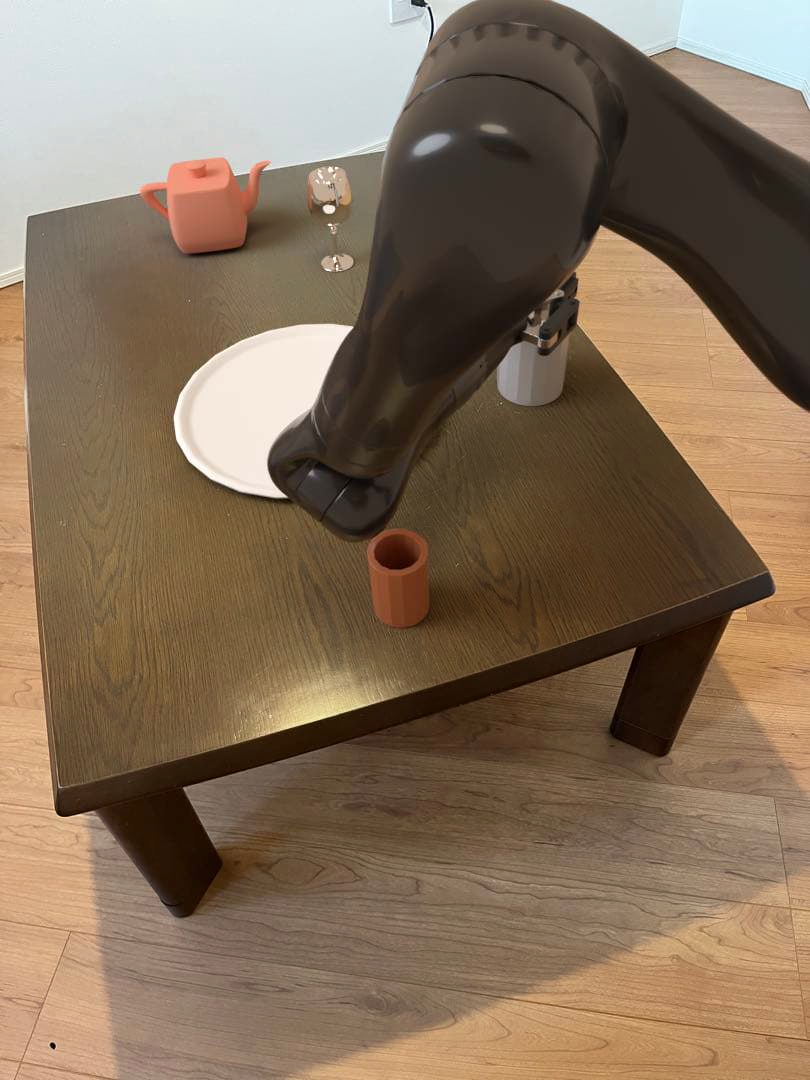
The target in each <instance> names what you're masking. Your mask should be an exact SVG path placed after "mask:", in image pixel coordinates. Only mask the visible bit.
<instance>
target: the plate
mask: <svg viewBox="0 0 810 1080" xmlns="http://www.w3.org/2000/svg"><path fill="white" fill-rule="evenodd" d="M353 327H354V325H353V326H352V325H344V324H338V323H311V324H310V323H309V324H296V325H292V326H285V327H281V328H275V329H269V330H267V331H264V332H261V333H259V334H255V335H253V336H250V337H247V338H245V339H241V340H240V341H238V342H236V343H234V344H232V345H231V346H229V347H227V348H226V349H224V350H222V351H220V352H218V353H216V354H215V355H213V357H211V358H210V359H209V360H207V361H206V363H204V364H203V365H202V366H201V367H200V368H199V369H197V370H196V371H195V372H194V373H193V374H192V376H191V378H190V379H189V380H188V382H187V383H186V384H185V386H184V388H183V389H182V391H181V392H180V393H179V396H178V399H177V402H176V406H175V411H174V413H173V422H174V423H173V425H174V431H175V432H174V433H175V439H176V443H178V446H179V447H180V449H181V451H182V452H183V454H184V456H185V457H186V459H187V461H188V462H189V463H190V464H191V465H192V466H194V467H195V468H196V469H197V470H198V471H200V473H202V474H203V475H204V476H206V477H207V478H208V479H209V480H210V481H213V482H216V483H217V484H219V485H222V486H225V487H227V488H229V489H231V490H234V491H236V492H238V493H243V494H247V495H254V496H258V497H259V496H260V497H266V498H271V499H289V498H288V497H287V496H286V495H284V494H283V493H282V492H281V491H280V490H279V489H278V488H277V487H276V486H275V484H274V483H273V482H272V480H271V478H270V475H269V473H268V469H267V457H268V452H269V450H270V447H271V445H272V444H273V442H274V440H275V439H276V438H277V436H278V435H279V434H280V433H281V432H282V431H283V429H284V428H286V427H287V426H288V425H289V424H290V423H291V422H292V421H293V420H295V419H296V418H297V417H299V416H300V415H302V414H303V413H305V412H306V411H308V410H309V409H310V408H311V407H312V406H313V404H314V403H315V401H316V398H317V395H318V393H319V390H320V388H321V385H322V383H323V380H324V378H325V375H326V373H327V370H328V368H329V366H330V364H331V361H332V359H333V357H334V355H335V353H336V352H337V350H338V348H339V346H340V345H341V343H342V341H343V340H344V338H345V337H346V336H347V334H348V333H349V332H350V331H351V330H352V329H353Z"/></svg>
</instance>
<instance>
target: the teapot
mask: <svg viewBox="0 0 810 1080" xmlns="http://www.w3.org/2000/svg"><path fill="white" fill-rule="evenodd" d="M271 163H272V160H262V161H260V162H257V163H256V164H254V165H253V166H252V167H251V169H250V171H249V178H248V185H247V187H246V188H245V189H244V191H242V192H241V189H240V186H239V184H238V181H237V179H236V176H235V174H234V171H233V170H232V167H231V165H230V163H229V161H228V159H226V158H225V157H212V158H204V159H203V158H202V159H193V160H187V161H180V162H174V163H172V164H171V165H170V167H169V169H168V172H167V179H166V181H160V182H150V183H146V184H143V185H142V186H141V187H140V188H139V195H140V197H141V198H142V200H143V201H144V202H145V203H146V205H147V206H149V207H150V208H151V209H153V210H154V211H155V212H156V213H158V214H159V215H161V216H162V217H164V218H165V219H167V220H168V221H169V226H170V230H171V235H172V238H173V239H174V242H175V245H176V246H177V247H178V249H179V251H181V252H182V253H183V254H201V253H207V252H209V253H210V252H216V251H224V250H229V249H234V248H239V247H241V246H243V245H244V242H245V240H246V235H247V230H248V229H247V228H248V215H249V214H251V213H252V212H253V210H254V209H255V208H256V206H257V204H258V201H259V195H260V194H259V193H260V180H261V179H260V178H261V175H262V172H263V171H264V170H265V168H266V167H267V166H269V165H270V164H271ZM160 191H166V203H167V204H166V205H167V207H165V206H164V205H163V204H162V203H161V202H160V201H159V200H158V199H157V197H156V196H155V195H154V193H155V192H160Z"/></svg>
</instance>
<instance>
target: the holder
mask: <svg viewBox="0 0 810 1080" xmlns="http://www.w3.org/2000/svg"><path fill="white" fill-rule="evenodd" d="M366 556H367V557H366V558H367V565H368V573H369V580H370V590H371V598H372V605H373V611H374V614H375V615H376V617H377V619H378V620H379V621H380V622H381V623H383V624H384V625H386V626H389V627H391V628H398V629H404V628H405V629H406V628H410V627H413V626H416V625H417V624H419V623H420V622H422V620H424V618H425V617H426V616H427V615H428V613H429V610H430V603H431V593H430V591H431V590H430V588H431V587H430V561H429V548H428V544H427V542H426V540H425V539H424V538H423V537H422V536H421V535H420V534H419V533H417V532H415V531H412V530H411V529H410V530H409V529H407V528H391V529H388V530H384V531H382V532H381V533H380V534H378V535H377V536H375V537H374V538H372V539H371V540H370V542H369V545H368V547H367V549H366Z"/></svg>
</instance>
